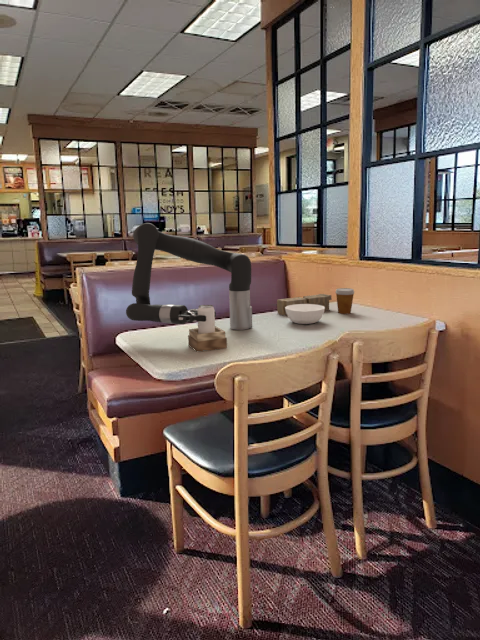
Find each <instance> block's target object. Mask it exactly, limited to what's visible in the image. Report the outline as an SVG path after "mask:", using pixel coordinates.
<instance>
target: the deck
mask: <svg viewBox="0 0 480 640" xmlns="http://www.w3.org/2000/svg"><path fill="white" fill-rule="evenodd" d="M187 337H188V338H187V339H188V340H187V342H188V346H189V345H190V346H191V347H192V348H191V347H190V346H189V347H190V348H191V349H193V348H194V349H195V350H196V351H195V350H194V349H193V350H194V351H195V352H197V351H201V352H204V351H203V350H208V351H215V349H216V350H220V349H221V350H223V349H227V348H228V340H227V339H228V338H227V337H226V338H222V339H214V340H206V341H197V340H195V339H194V338H192V337H191V336H190V335H187Z"/></svg>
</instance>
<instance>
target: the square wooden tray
mask: <svg viewBox="0 0 480 640" xmlns="http://www.w3.org/2000/svg"><path fill="white" fill-rule="evenodd" d="M188 333H189V335H190V336H191V337H192V338H194V339H195V340H197V341H206V340H214V339H222V338H227V337H226V331H225V330H223V329H221V328H220V327H217V326H216V325H215V332H213V333H204V334H199V333H198V327H195V328H189V329H188Z"/></svg>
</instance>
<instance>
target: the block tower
mask: <svg viewBox="0 0 480 640" xmlns="http://www.w3.org/2000/svg"><path fill="white" fill-rule="evenodd" d="M331 300H332V294H326V293H318V294H311V295H306V296H303V297H300V296H298V297H297V296H296V297H289V298H281V299H279V298H278V299H277V300H276V305H277V308H276V309H277V315H280V316H287V317H288V315H287V314H286V310H285V307H286V306H289V305H295V304H315V305H321V306H324V307H325V309H324V312H326V311H330V301H331Z"/></svg>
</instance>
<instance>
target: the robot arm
mask: <svg viewBox="0 0 480 640" xmlns="http://www.w3.org/2000/svg"><path fill="white" fill-rule="evenodd" d="M132 237H133V241H134V242H135V243H136V245H137V259H136V264H135V267H134V272H133V278H132V286H131V287H132V288H131V295H132V297H134V298H135V302H134V303H130V304H129V305H127V308H126V310H125V314H126V317H127V318H128V319H129V320H130V321H136V322H137V321H138V322H144V321H145V322H148V321H149V322H154V323H164V324H171V325H185V324H186V323H191V324H192V323H196V322H198V321H203V322H205V321H206V316H205V315H198V308H193V309H188V307H187V306H186V305H185V304H184V305H183V304H151V298H150V289H151V278H152V269H153V267H152V266H153V260H154V256H155V255H154V254H155V250H157V251H161V252H164V253H168V254H170V255H173V256H175V257H178V258H180V259H184V260H187V261H189V262H193V263H197V264H201V265H202V264H203V265H207V266H215V267H217V268H220V269H222V270H224V271H227V272H229V273H230V274H231V281H230V283H229V284H228V290H229V291H228V296H229V325H230V329H231V330H235V331H236V330H237V331H240V330H241V331H243V330H248V329H252V328H253V306H251V290H250V289H251V284H252V263H251V259H250V258H249V256H248V255H247V254H243V253H239V252H238V253H237V252H231V251H230V252H229V251H226V250H221V249H218V248H216V247H214V246H213V245H210V244H208V243H206V242H204V241H201V240H198V239H195V238H192V237H187V236H182V235H171V234H167V233H164V232H162V231H159V229H158V228H157V227H156V225H154V224H153V223H150V222H145V223H142V224H140V225H138V226H137V227H136V228H135V229H134V231H133V234H132ZM216 317H217V312H216V311H215V318H216Z"/></svg>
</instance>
